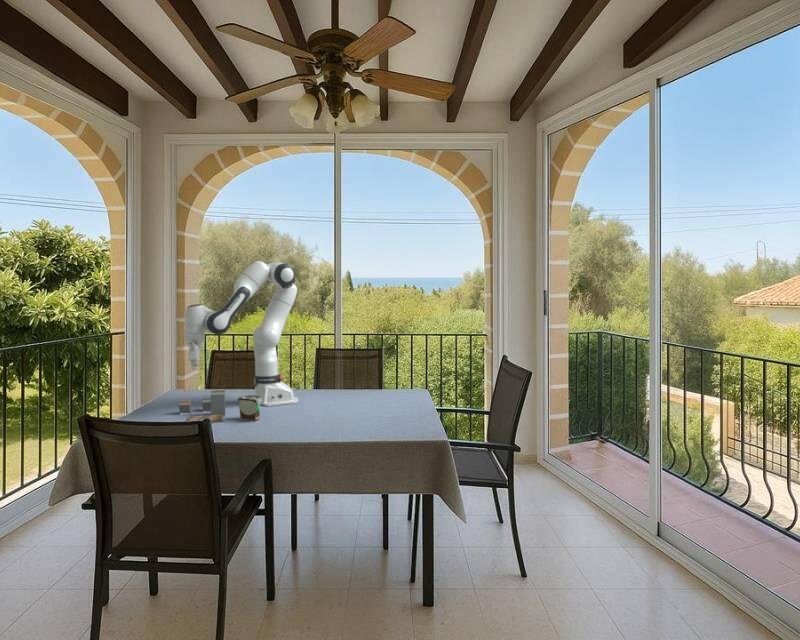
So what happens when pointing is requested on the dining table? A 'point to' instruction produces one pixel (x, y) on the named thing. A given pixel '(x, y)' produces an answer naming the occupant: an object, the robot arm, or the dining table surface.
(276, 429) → the dining table surface
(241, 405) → the food container
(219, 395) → the grey upright block
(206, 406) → the grey cartridge
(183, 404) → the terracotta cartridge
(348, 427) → the dining table surface
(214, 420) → the pad
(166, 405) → the dining table surface
